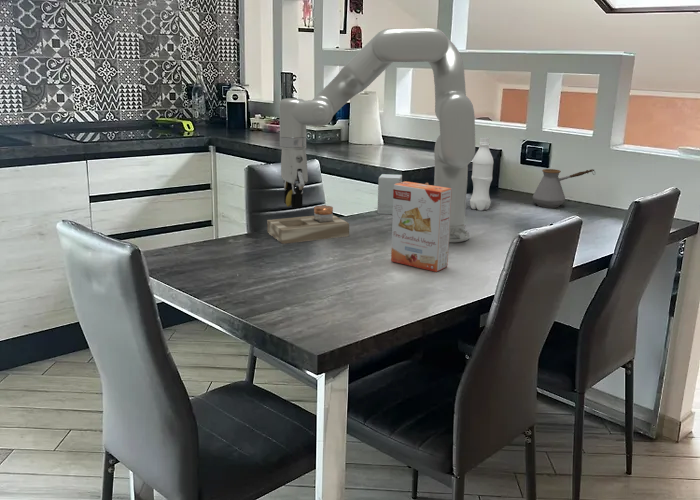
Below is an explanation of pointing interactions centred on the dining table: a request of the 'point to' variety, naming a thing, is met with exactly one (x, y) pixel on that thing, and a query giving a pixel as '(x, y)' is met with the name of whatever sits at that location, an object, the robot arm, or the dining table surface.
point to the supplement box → (386, 192)
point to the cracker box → (421, 225)
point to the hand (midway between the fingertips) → (293, 204)
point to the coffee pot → (552, 188)
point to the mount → (306, 229)
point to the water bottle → (482, 176)
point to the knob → (289, 198)
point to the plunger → (323, 213)
